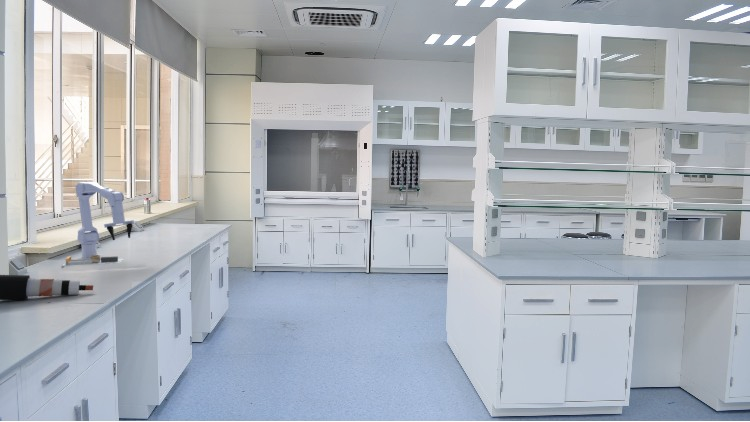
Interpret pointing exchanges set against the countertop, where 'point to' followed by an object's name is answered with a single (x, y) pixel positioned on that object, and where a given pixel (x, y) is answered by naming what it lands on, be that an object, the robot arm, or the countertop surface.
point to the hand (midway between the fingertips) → (121, 239)
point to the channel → (84, 261)
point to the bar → (109, 259)
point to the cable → (36, 287)
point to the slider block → (95, 258)
